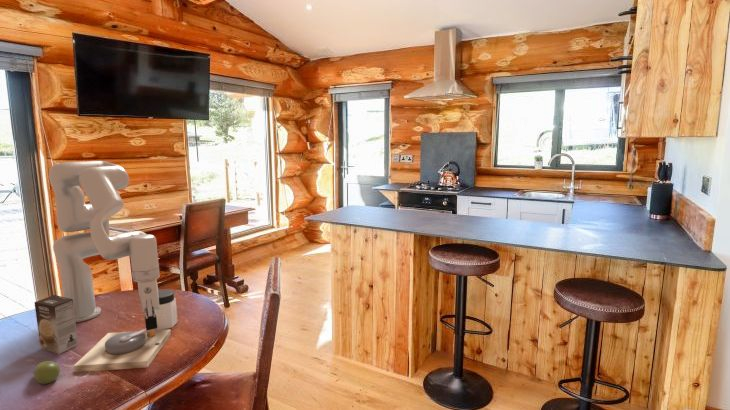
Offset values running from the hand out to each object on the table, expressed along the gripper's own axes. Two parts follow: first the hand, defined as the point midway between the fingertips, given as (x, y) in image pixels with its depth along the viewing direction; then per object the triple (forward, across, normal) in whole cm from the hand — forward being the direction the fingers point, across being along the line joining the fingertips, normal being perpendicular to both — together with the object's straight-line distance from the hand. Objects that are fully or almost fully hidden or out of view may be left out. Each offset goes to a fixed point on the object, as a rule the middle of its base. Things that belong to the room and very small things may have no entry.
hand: (151, 328), depth 131 cm
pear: (+6, -5, +27) cm, 28 cm away
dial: (+4, +1, +6) cm, 7 cm away
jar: (+6, +15, -4) cm, 17 cm away
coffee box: (+6, +14, +26) cm, 31 cm away
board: (+6, 0, +8) cm, 10 cm away
